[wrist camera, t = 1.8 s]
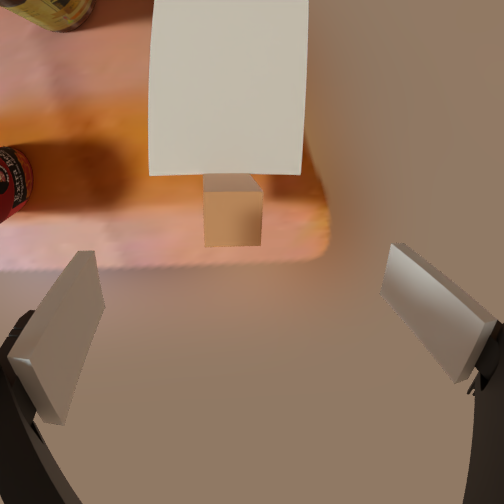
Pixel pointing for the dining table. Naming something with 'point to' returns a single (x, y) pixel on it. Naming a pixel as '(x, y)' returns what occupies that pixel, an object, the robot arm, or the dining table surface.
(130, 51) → the dining table surface
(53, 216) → the dining table surface
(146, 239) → the dining table surface
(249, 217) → the lid
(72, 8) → the sauce bottle
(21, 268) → the dining table surface
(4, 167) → the canned food
